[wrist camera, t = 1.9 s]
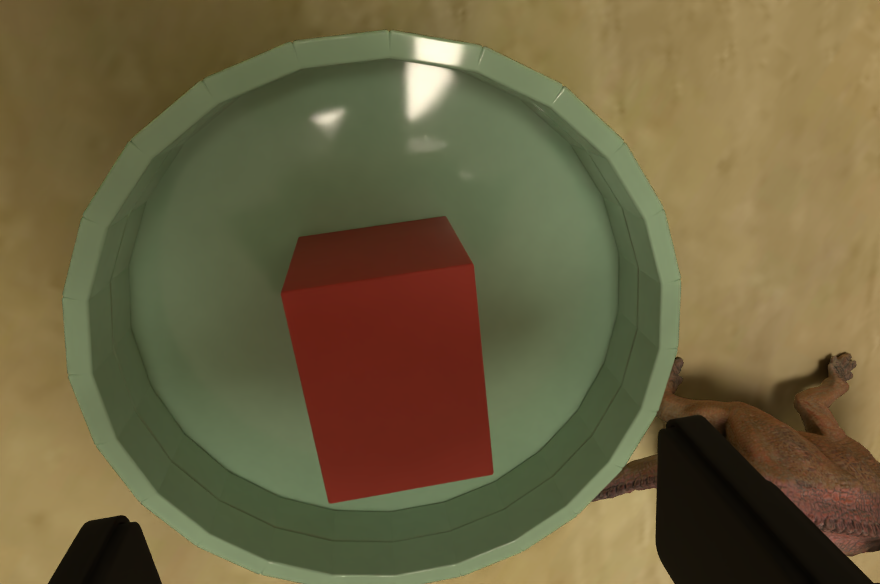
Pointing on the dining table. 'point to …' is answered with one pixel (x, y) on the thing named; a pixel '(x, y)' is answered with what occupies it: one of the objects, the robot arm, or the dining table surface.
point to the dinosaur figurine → (788, 457)
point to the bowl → (351, 207)
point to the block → (389, 357)
